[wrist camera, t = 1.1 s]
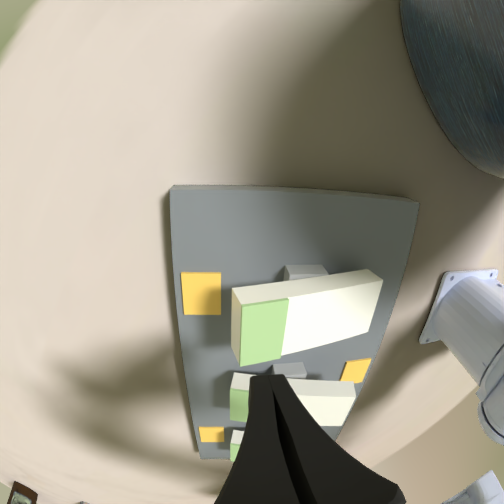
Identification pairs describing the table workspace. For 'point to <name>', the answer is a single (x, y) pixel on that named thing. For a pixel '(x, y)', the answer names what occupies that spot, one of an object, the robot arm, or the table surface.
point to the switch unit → (275, 270)
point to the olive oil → (22, 495)
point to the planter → (461, 72)
